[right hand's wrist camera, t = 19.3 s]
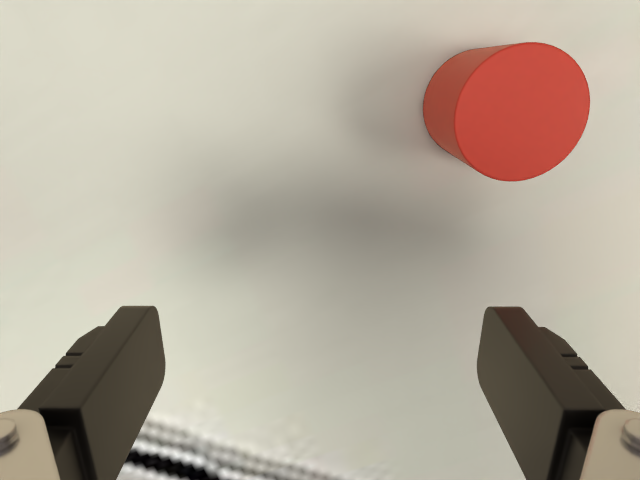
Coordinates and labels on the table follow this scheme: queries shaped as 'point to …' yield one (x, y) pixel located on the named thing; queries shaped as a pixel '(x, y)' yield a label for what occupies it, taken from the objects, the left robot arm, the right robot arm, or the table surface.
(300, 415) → the table surface
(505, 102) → the canister
